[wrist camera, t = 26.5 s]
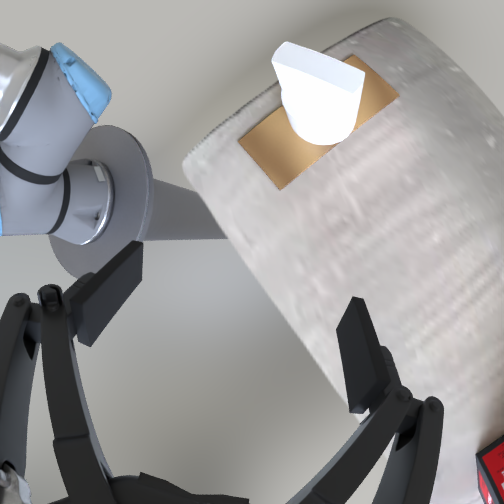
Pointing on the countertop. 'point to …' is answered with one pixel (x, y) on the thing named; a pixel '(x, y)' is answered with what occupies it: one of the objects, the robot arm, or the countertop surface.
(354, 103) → the cylinder with rectangular tab
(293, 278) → the countertop surface
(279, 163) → the tan rectangular plate
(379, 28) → the countertop surface
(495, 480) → the cleaning product box
